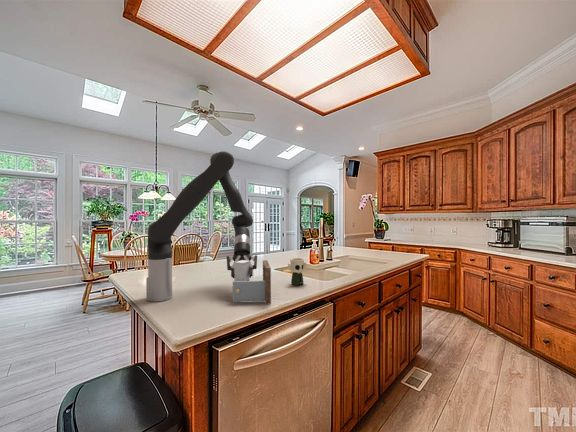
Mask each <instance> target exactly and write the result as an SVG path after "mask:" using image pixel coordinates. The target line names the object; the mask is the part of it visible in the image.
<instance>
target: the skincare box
mask: <svg viewBox="0 0 576 432" xmlns="http://www.w3.org/2000/svg"><path fill="white" fill-rule="evenodd" d="M233 263H234V278H233V281H250V278H249V261H246V260H241V261H237V262H234V261H233Z"/></svg>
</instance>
